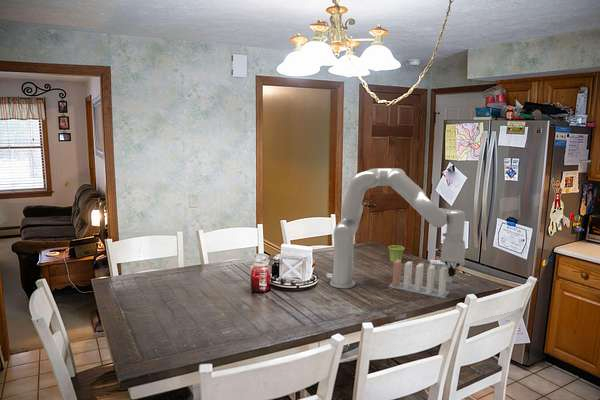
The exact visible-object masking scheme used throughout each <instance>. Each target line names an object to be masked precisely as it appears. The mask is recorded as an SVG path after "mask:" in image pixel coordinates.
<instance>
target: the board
mask: <svg viewBox="0 0 600 400" xmlns="http://www.w3.org/2000/svg"><path fill="white" fill-rule="evenodd" d="M403 285H404V282H402V281H400V284H399V285H398V286H397V287H394V286H392V283H390V285H388V288H392V289H397V290H402V291H407V292H413V293H418V294H423V295H426V296H432V297H437V298H441V299H442V298H443V299H446V297H447V296H448V295H449V293H450V291H448V290H446V291H445V293H444V295H443V296H439V295H438V289H437V288H434V290H433V291H432V292H431V294H429V293H426V287H427V286H424V285H422V288H421V290H420V291H415V284H412V283H411V286H410V287H409V288H408V289H404V288H403Z"/></svg>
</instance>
